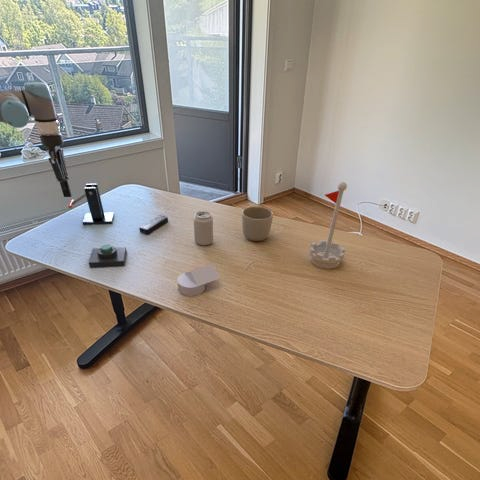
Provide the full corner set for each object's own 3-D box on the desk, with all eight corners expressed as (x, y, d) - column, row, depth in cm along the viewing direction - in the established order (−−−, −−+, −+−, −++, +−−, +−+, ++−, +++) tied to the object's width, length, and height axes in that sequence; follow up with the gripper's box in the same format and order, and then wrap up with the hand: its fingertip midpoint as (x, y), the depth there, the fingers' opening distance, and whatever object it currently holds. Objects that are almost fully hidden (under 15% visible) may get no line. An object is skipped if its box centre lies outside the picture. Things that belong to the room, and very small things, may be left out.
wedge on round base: (206, 273, 123) (173, 285, 117) (206, 257, 119) (171, 268, 113) (219, 286, 118) (186, 299, 112) (220, 270, 113) (184, 282, 107)
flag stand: (343, 255, 136) (364, 178, 117) (340, 273, 127) (362, 192, 107) (310, 249, 139) (325, 173, 119) (305, 266, 130) (320, 185, 110)
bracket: (82, 224, 147) (73, 190, 138) (86, 215, 154) (77, 182, 144) (112, 223, 149) (104, 189, 139) (114, 214, 156) (107, 181, 146)
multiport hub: (168, 221, 153) (168, 216, 151) (148, 235, 143) (147, 230, 141) (160, 219, 154) (159, 214, 153) (139, 232, 144) (138, 227, 143)
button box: (89, 268, 123) (87, 258, 120) (94, 253, 130) (91, 244, 128) (124, 266, 125) (122, 256, 122) (126, 252, 132) (124, 242, 130)
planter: (264, 229, 151) (267, 205, 144) (274, 242, 142) (277, 218, 135) (237, 231, 148) (238, 207, 141) (245, 246, 139) (247, 220, 132)
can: (208, 236, 144) (207, 208, 136) (216, 244, 139) (216, 215, 132) (191, 239, 141) (190, 211, 133) (199, 248, 136) (198, 219, 129)
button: (101, 253, 124) (99, 249, 123) (102, 248, 126) (101, 244, 125) (111, 253, 124) (110, 249, 123) (112, 248, 127) (111, 244, 126)
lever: (71, 210, 144) (66, 205, 142) (73, 204, 148) (69, 199, 147) (95, 193, 141) (91, 188, 140) (97, 188, 146) (93, 183, 144)
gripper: (56, 138, 123) (74, 202, 139) (64, 129, 133) (80, 190, 148) (34, 137, 122) (54, 202, 137) (43, 128, 132) (61, 190, 147)
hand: (67, 196), depth 143 cm, fingers closed
